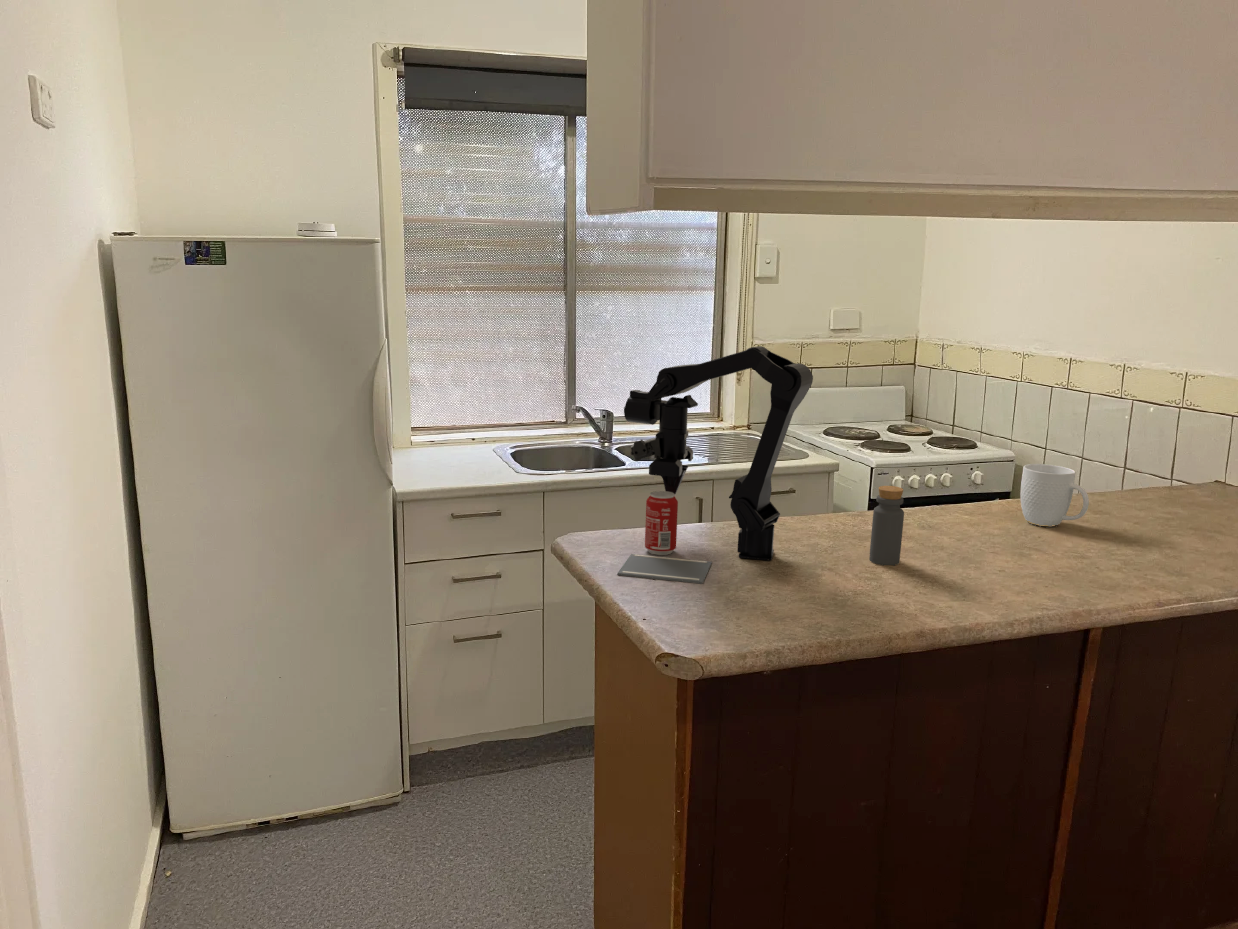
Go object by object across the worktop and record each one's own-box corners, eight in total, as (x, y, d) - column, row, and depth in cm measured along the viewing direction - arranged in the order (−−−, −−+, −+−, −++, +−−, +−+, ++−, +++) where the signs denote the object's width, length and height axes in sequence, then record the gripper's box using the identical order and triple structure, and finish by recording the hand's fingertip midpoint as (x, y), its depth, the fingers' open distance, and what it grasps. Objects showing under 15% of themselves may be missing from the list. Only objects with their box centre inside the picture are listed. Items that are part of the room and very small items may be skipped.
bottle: (901, 559, 188) (908, 487, 185) (896, 567, 183) (904, 493, 180) (871, 555, 190) (878, 483, 187) (866, 563, 185) (873, 489, 182)
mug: (1093, 528, 215) (1101, 472, 212) (1074, 537, 207) (1082, 479, 204) (1028, 514, 225) (1034, 461, 222) (1008, 522, 217) (1015, 467, 215)
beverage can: (676, 547, 192) (678, 490, 189) (675, 557, 186) (677, 498, 183) (645, 546, 192) (647, 489, 190) (643, 555, 186) (645, 497, 184)
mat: (711, 563, 182) (711, 561, 182) (702, 583, 171) (702, 581, 171) (631, 555, 186) (631, 553, 186) (617, 575, 174) (617, 572, 174)
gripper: (643, 417, 204) (641, 487, 207) (624, 432, 186) (622, 508, 189) (694, 420, 201) (691, 491, 204) (680, 436, 183) (677, 513, 187)
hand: (670, 500), depth 196 cm, fingers closed
